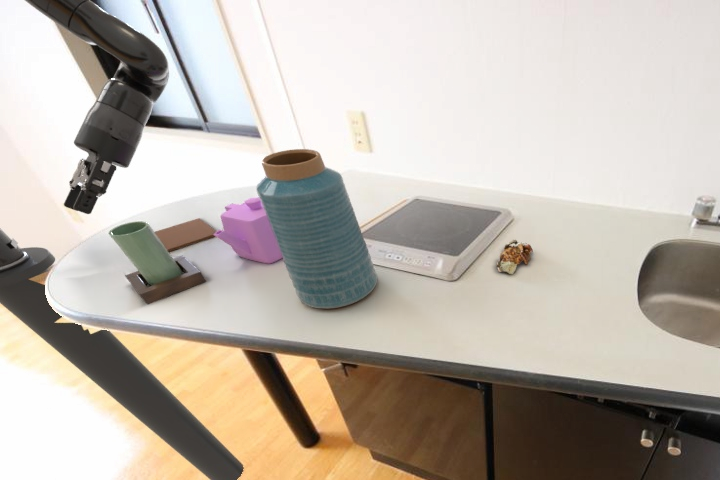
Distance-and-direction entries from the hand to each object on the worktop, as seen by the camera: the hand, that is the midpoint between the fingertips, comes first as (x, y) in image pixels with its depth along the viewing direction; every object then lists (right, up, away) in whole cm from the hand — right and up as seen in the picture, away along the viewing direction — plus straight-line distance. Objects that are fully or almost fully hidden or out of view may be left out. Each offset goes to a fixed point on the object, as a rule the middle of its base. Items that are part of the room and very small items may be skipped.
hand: (76, 210), depth 70 cm
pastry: (+86, -7, +16) cm, 87 cm away
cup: (+9, -13, +10) cm, 19 cm away
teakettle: (+25, -3, +21) cm, 33 cm away
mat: (-3, +2, +26) cm, 26 cm away
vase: (+48, -14, +8) cm, 50 cm away
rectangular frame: (+9, -13, +10) cm, 18 cm away
